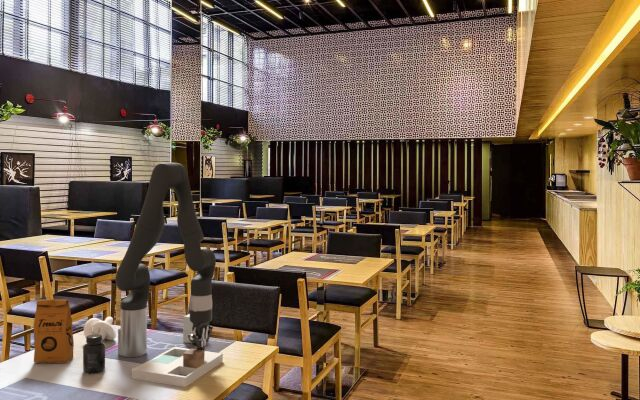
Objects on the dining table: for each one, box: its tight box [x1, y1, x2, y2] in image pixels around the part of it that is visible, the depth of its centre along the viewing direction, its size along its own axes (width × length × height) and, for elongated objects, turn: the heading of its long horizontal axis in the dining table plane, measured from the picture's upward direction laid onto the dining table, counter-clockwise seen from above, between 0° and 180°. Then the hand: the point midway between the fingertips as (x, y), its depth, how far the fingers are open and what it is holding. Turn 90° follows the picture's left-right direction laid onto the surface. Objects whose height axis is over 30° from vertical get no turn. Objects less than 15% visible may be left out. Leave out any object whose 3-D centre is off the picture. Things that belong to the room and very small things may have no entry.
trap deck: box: [131, 346, 223, 388], centre depth 173 cm, size 20×24×3 cm
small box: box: [182, 313, 193, 344], centre depth 205 cm, size 8×6×10 cm
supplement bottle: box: [82, 334, 106, 375], centre depth 170 cm, size 7×7×12 cm
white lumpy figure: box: [83, 316, 117, 341], centre depth 202 cm, size 11×12×9 cm
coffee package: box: [33, 299, 75, 364], centre depth 179 cm, size 10×12×22 cm
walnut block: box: [183, 348, 204, 368], centre depth 169 cm, size 5×5×4 cm
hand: (200, 356), depth 174 cm, fingers closed
